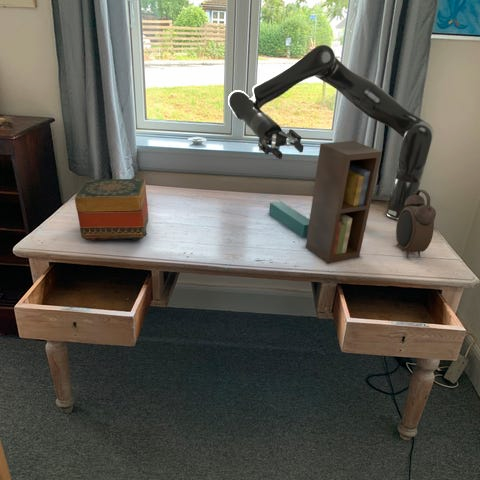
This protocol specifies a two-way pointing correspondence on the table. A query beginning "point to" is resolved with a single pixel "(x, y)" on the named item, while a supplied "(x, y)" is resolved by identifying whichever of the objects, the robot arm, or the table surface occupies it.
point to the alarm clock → (415, 224)
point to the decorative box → (112, 209)
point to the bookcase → (341, 199)
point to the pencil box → (289, 218)
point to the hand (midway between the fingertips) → (291, 153)
